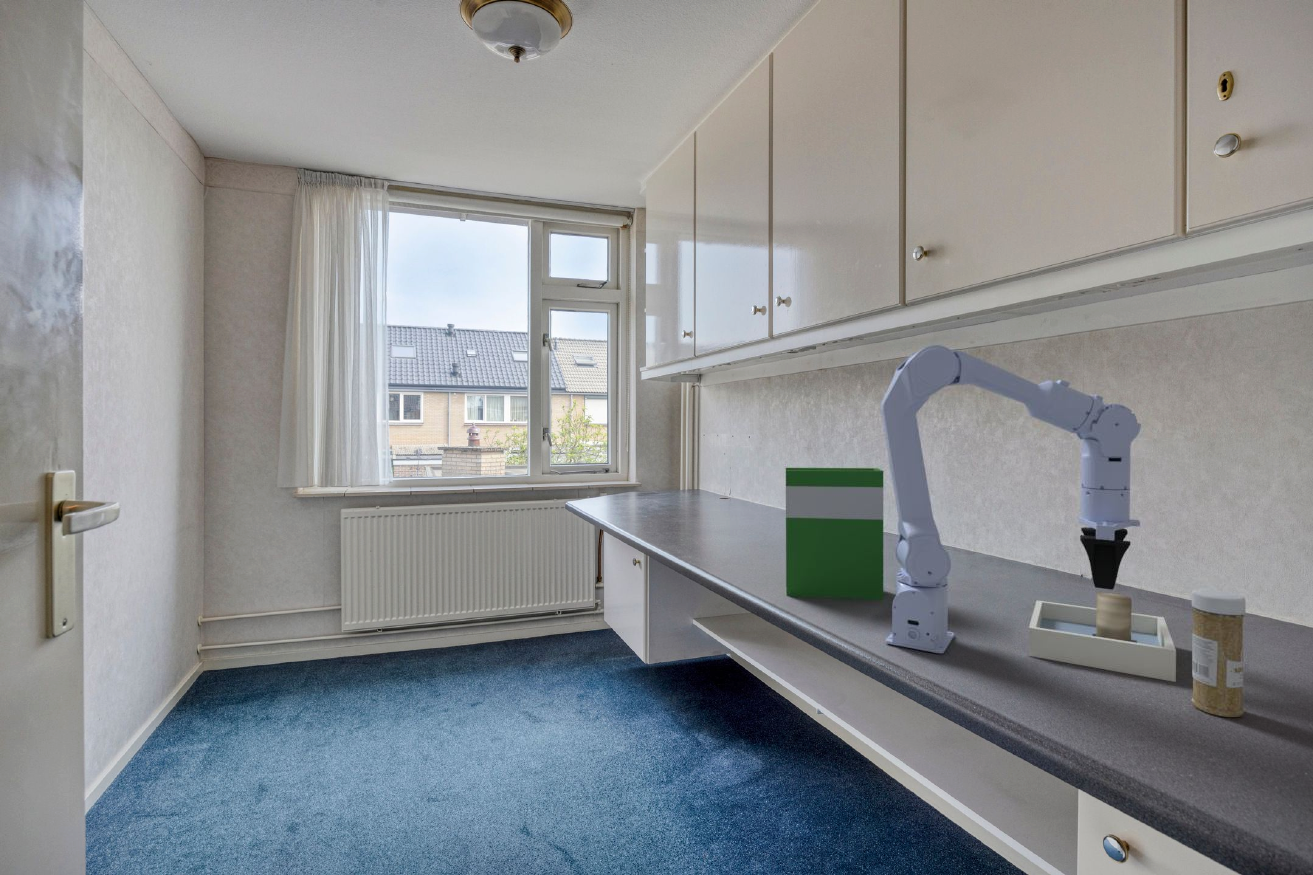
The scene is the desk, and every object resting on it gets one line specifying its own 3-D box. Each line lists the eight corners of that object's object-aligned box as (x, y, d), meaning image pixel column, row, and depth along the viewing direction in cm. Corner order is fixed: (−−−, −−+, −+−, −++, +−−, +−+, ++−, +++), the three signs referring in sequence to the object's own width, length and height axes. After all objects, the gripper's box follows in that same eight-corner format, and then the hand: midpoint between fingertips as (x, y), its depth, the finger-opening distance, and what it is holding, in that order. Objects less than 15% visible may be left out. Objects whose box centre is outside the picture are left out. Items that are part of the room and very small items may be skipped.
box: (1175, 681, 79) (1176, 650, 79) (1028, 655, 88) (1028, 627, 88) (1163, 644, 92) (1163, 617, 92) (1036, 624, 101) (1036, 600, 101)
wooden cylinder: (1129, 660, 86) (1130, 602, 86) (1094, 653, 89) (1095, 597, 88) (1132, 651, 89) (1132, 596, 89) (1098, 645, 92) (1098, 591, 92)
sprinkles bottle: (1252, 721, 68) (1254, 600, 68) (1200, 714, 70) (1202, 596, 70) (1231, 703, 73) (1233, 589, 72) (1183, 697, 74) (1184, 585, 74)
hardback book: (786, 595, 119) (785, 470, 119) (786, 585, 127) (785, 467, 126) (883, 599, 116) (883, 471, 115) (877, 589, 123) (877, 468, 123)
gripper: (1143, 494, 81) (1142, 598, 81) (1137, 485, 93) (1136, 575, 93) (1078, 491, 85) (1076, 590, 85) (1080, 482, 97) (1079, 569, 97)
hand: (1103, 582), depth 90 cm, fingers open, 7 cm apart
